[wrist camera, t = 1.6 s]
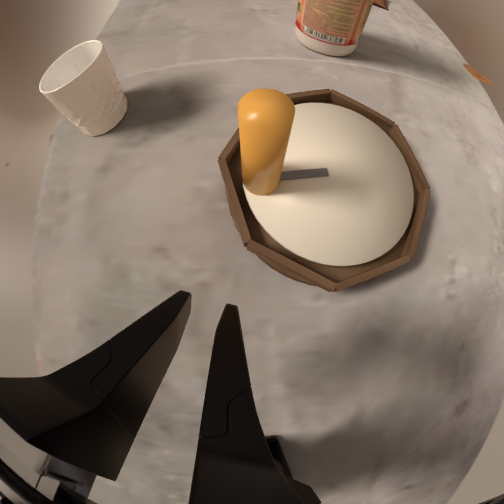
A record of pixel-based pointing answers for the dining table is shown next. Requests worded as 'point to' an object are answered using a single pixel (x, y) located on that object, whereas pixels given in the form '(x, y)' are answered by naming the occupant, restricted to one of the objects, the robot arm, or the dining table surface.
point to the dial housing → (304, 269)
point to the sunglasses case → (380, 4)
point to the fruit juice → (331, 24)
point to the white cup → (86, 88)
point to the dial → (322, 179)
